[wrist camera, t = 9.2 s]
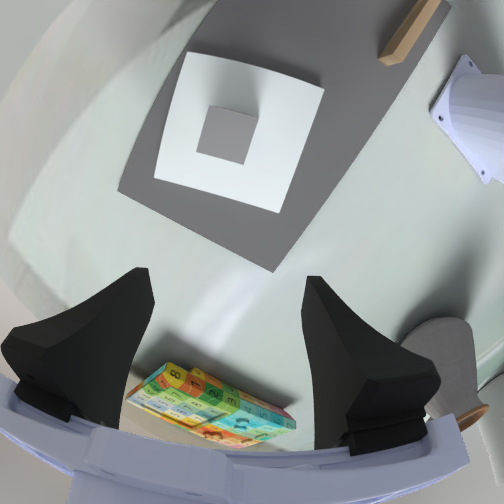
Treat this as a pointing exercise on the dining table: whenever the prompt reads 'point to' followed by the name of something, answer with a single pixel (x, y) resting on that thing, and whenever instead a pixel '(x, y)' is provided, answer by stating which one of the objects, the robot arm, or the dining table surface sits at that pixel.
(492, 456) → the cylinder vase
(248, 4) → the rubber mat
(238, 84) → the cover plate
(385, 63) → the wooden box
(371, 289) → the dining table surface
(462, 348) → the grey faceted twig vase
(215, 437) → the puzzle game
